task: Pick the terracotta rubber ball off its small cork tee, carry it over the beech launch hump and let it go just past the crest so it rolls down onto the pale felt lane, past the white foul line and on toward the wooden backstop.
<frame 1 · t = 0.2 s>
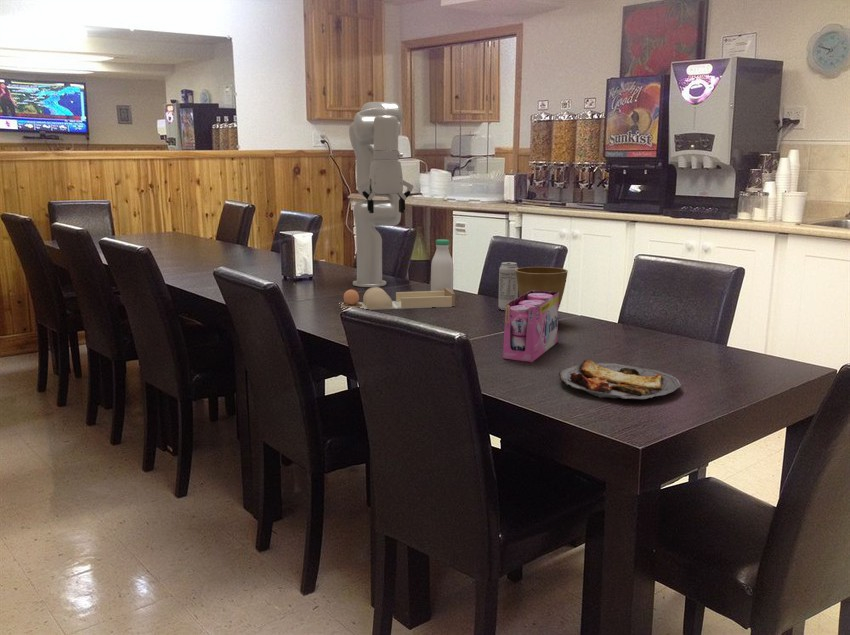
hand: (386, 212, 240), 30 cm above the table, tool pointing down, fingers open, 9 cm apart
milk bottle: (441, 298, 265), on the table
ball: (351, 297, 247), point 3 cm above the table, touching tee
tee: (351, 307, 248), resting on lane
plant pot: (539, 324, 226), on the table
gum box: (531, 351, 196), on the table
energy drink can: (507, 310, 245), on the table
food plate: (617, 388, 166), on the table
lane: (386, 305, 250), on the table
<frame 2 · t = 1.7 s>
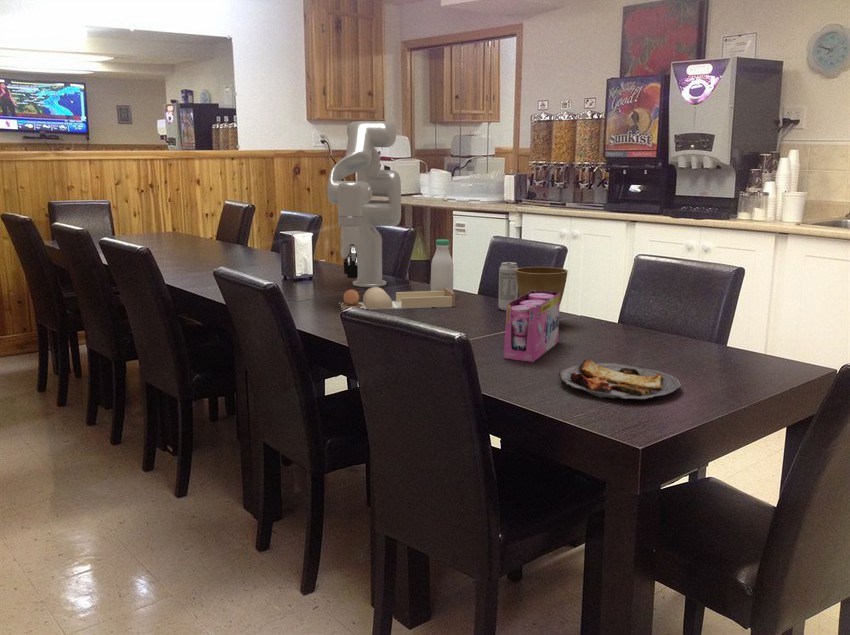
hand: (350, 275, 245), 10 cm above the table, tool pointing down, fingers open, 9 cm apart
nothing on the table moved.
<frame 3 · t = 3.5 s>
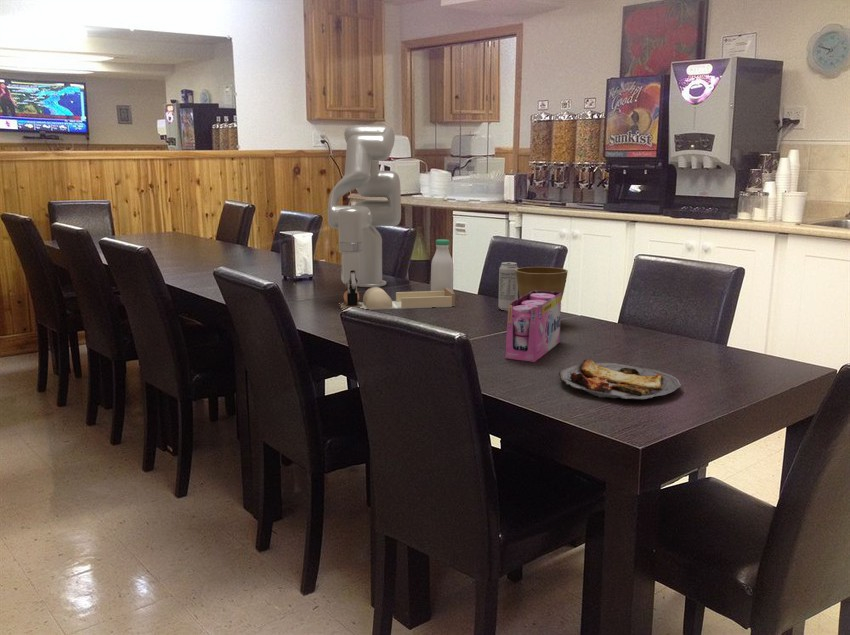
hand: (351, 303, 248), 1 cm above the table, tool pointing down, fingers closed on ball, 4 cm apart
ball: (351, 296, 247), point 3 cm above the table, touching gripper
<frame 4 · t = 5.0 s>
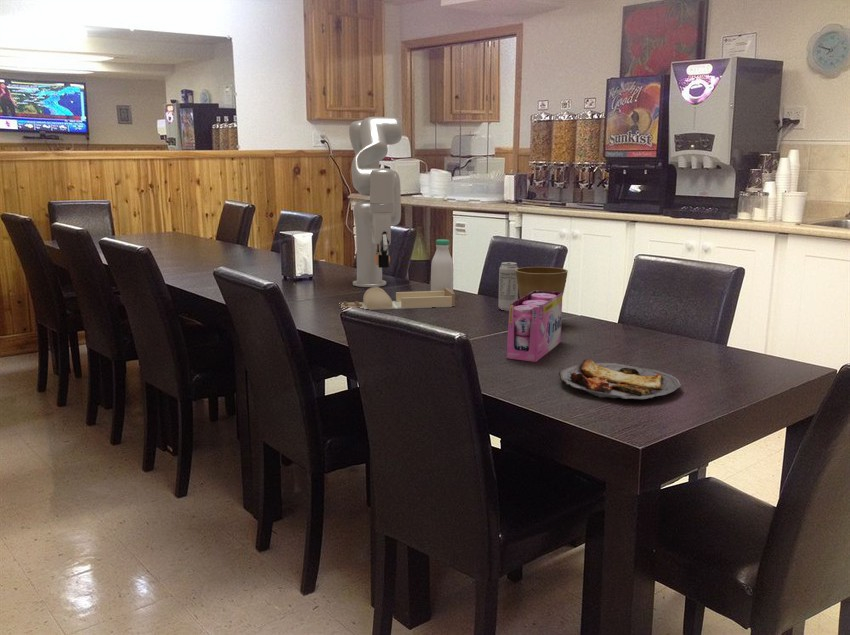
hand: (382, 265, 247), 13 cm above the table, tool pointing down, fingers closed on ball, 4 cm apart
ball: (382, 259, 247), point 15 cm above the table, touching gripper
everything else where it was.
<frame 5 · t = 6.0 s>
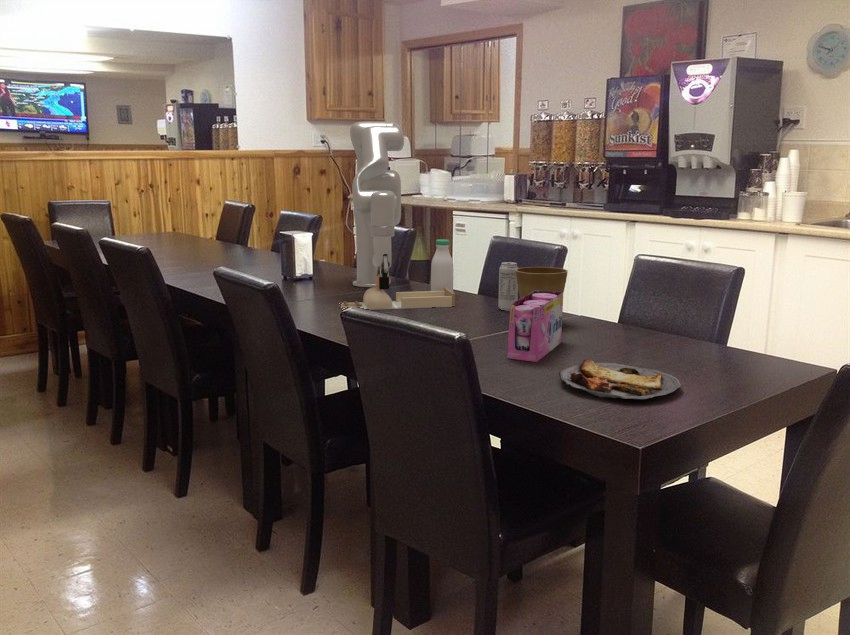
hand: (382, 287, 249), 6 cm above the table, tool pointing down, fingers closed on ball, 4 cm apart
ball: (382, 280, 248), point 8 cm above the table, touching gripper
when the fingers open (6 cm above the table, at t = 6.1 s): ball drops 5 cm and tips over, resting on lane.
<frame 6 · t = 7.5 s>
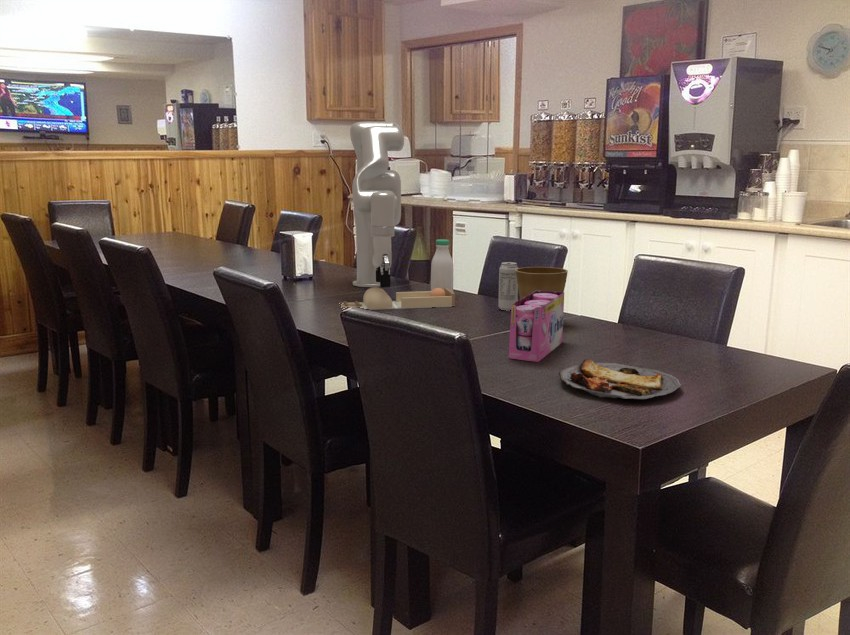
hand: (382, 284, 249), 7 cm above the table, tool pointing down, fingers open, 9 cm apart
ball: (438, 295, 253), point 3 cm above the table, tilted 107°, touching lane
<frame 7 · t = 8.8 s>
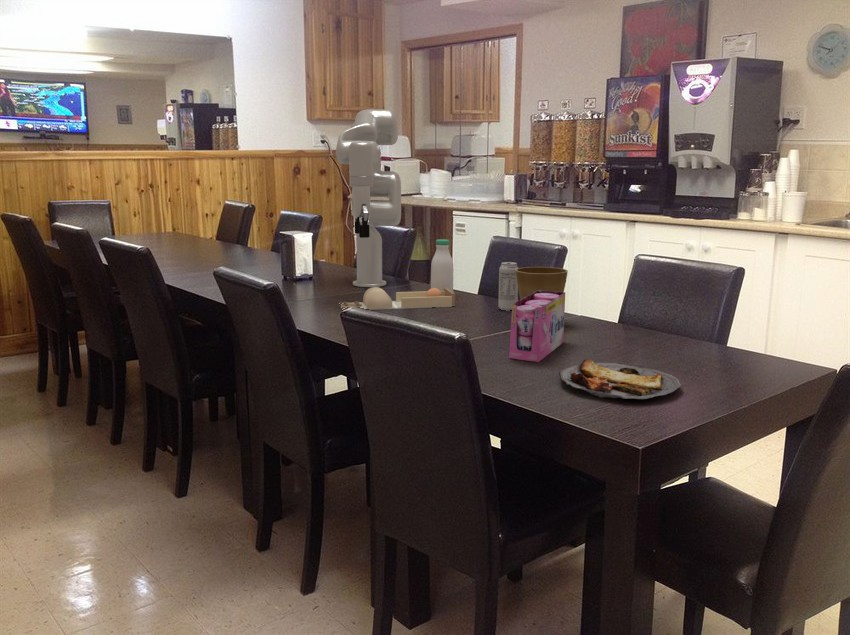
hand: (362, 235, 248), 23 cm above the table, tool pointing down, fingers open, 9 cm apart
ball: (434, 295, 253), point 3 cm above the table, tilted 77°, touching lane
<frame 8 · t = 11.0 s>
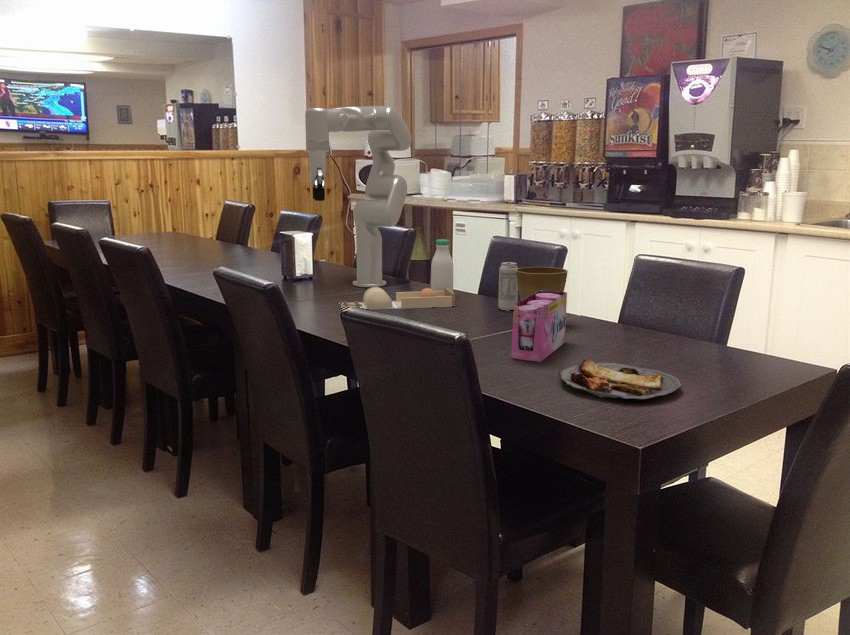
hand: (318, 199, 255), 33 cm above the table, tool pointing down, fingers open, 9 cm apart
ball: (427, 295, 252), point 3 cm above the table, tilted 25°, touching lane
at the end: ball inside the target area (1.6 cm from its centre), point 2.9 cm above the table; the gripper is holding nothing; ball moved 25.0 cm from its start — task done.
